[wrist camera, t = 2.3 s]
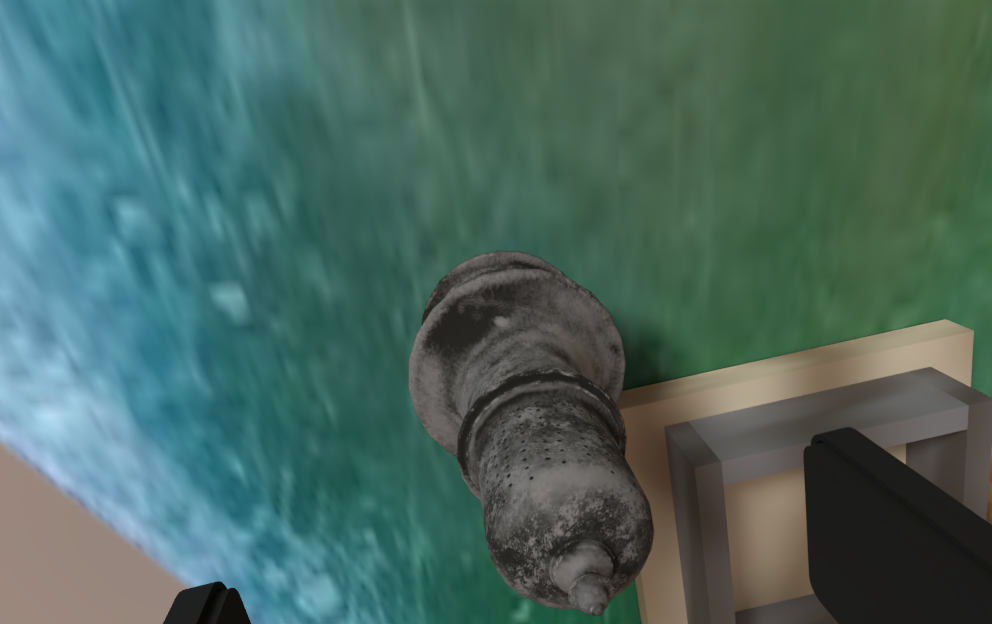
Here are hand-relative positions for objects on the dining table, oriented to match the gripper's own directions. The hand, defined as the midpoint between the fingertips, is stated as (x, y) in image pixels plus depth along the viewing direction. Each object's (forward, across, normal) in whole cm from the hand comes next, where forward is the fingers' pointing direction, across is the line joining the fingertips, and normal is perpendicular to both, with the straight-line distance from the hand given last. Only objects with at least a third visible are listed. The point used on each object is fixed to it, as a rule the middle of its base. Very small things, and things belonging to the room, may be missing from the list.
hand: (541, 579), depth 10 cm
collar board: (+11, -10, +14) cm, 20 cm away
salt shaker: (+11, -1, 0) cm, 11 cm away
